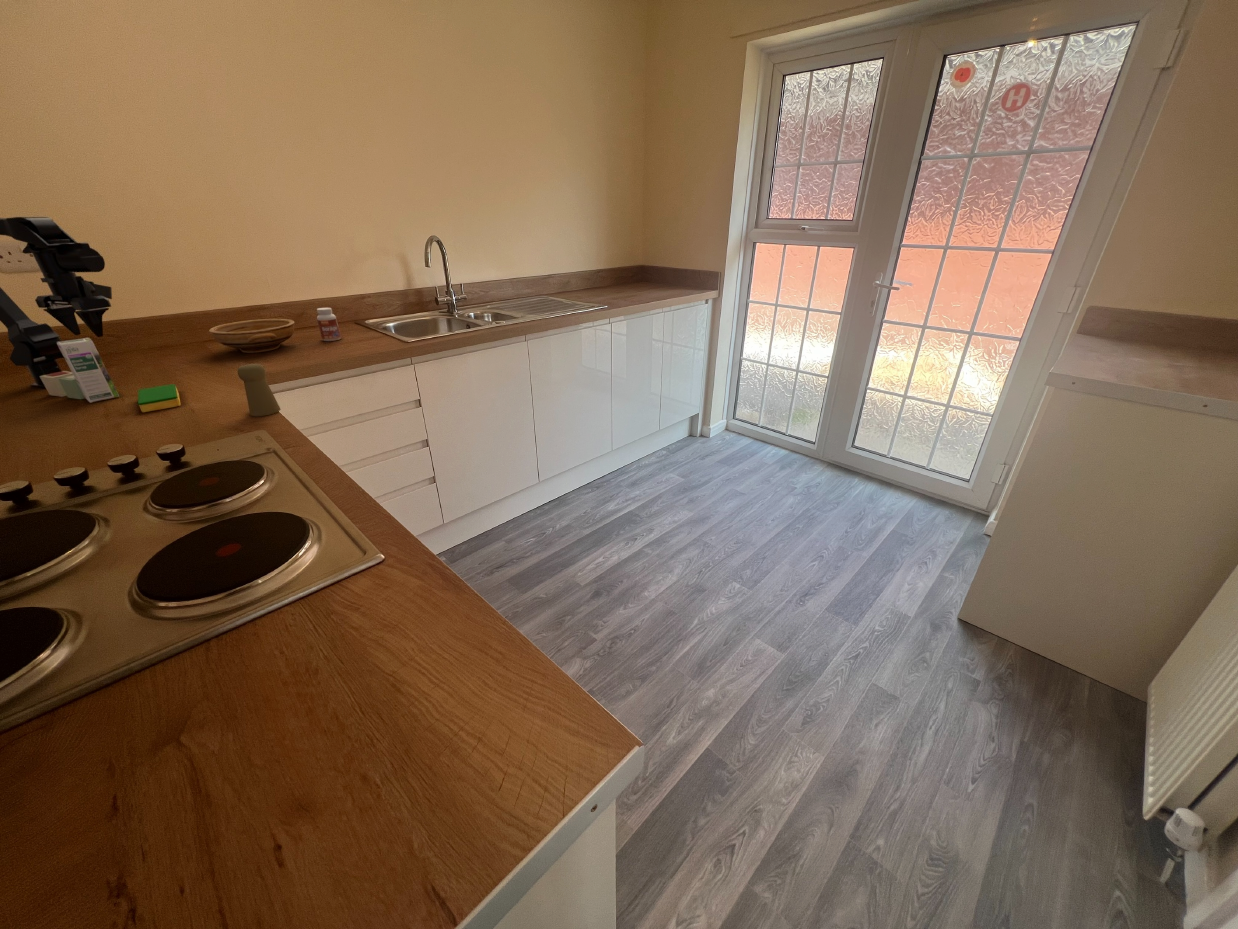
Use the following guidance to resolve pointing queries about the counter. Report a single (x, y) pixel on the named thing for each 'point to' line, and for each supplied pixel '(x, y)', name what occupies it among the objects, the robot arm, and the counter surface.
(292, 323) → the wooden bowl
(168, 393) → the dish sponge
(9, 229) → the robot arm
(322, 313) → the pill bottle
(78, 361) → the syrup box
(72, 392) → the sage letter block
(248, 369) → the sage salt shaker
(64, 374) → the cream letter block
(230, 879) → the counter surface
